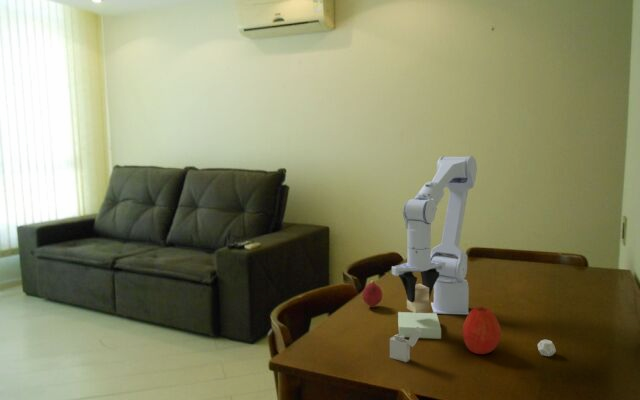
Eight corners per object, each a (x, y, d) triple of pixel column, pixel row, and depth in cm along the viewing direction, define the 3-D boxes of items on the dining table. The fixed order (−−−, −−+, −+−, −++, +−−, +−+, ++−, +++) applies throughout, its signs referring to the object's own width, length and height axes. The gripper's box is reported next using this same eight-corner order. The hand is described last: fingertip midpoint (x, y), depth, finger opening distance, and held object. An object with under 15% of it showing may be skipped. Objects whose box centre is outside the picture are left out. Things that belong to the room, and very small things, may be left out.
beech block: (420, 306, 115) (420, 283, 114) (429, 310, 111) (429, 287, 111) (406, 308, 114) (406, 285, 113) (415, 313, 110) (415, 289, 109)
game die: (547, 359, 96) (548, 346, 95) (533, 352, 99) (533, 339, 99) (559, 356, 97) (559, 343, 97) (544, 349, 100) (545, 336, 100)
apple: (496, 363, 94) (497, 314, 93) (457, 354, 99) (458, 308, 98) (503, 348, 101) (504, 303, 100) (466, 340, 106) (467, 297, 104)
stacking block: (436, 324, 117) (436, 313, 117) (441, 340, 107) (441, 328, 107) (398, 322, 118) (398, 312, 118) (399, 338, 109) (399, 326, 108)
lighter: (389, 357, 98) (389, 322, 97) (392, 354, 99) (393, 320, 98) (419, 366, 94) (419, 330, 93) (422, 362, 95) (423, 327, 94)
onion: (381, 311, 126) (381, 284, 125) (361, 310, 127) (361, 283, 126) (383, 304, 131) (382, 278, 131) (363, 303, 133) (363, 277, 132)
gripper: (433, 241, 117) (433, 291, 118) (385, 246, 111) (385, 298, 113) (450, 246, 110) (449, 299, 112) (400, 252, 105) (400, 307, 106)
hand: (418, 299), depth 112 cm, fingers closed on beech block, 4 cm apart
